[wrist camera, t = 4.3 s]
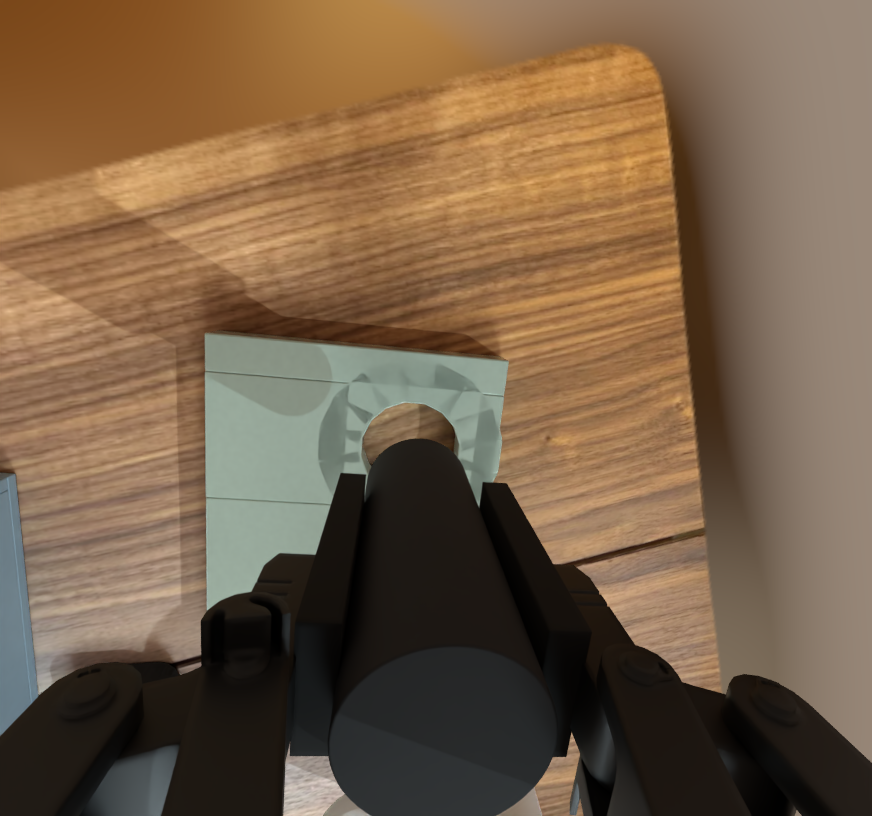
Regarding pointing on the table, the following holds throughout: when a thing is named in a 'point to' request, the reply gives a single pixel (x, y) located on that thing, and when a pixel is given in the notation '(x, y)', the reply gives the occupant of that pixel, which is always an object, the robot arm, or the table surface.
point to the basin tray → (14, 613)
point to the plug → (434, 654)
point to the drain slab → (318, 435)
